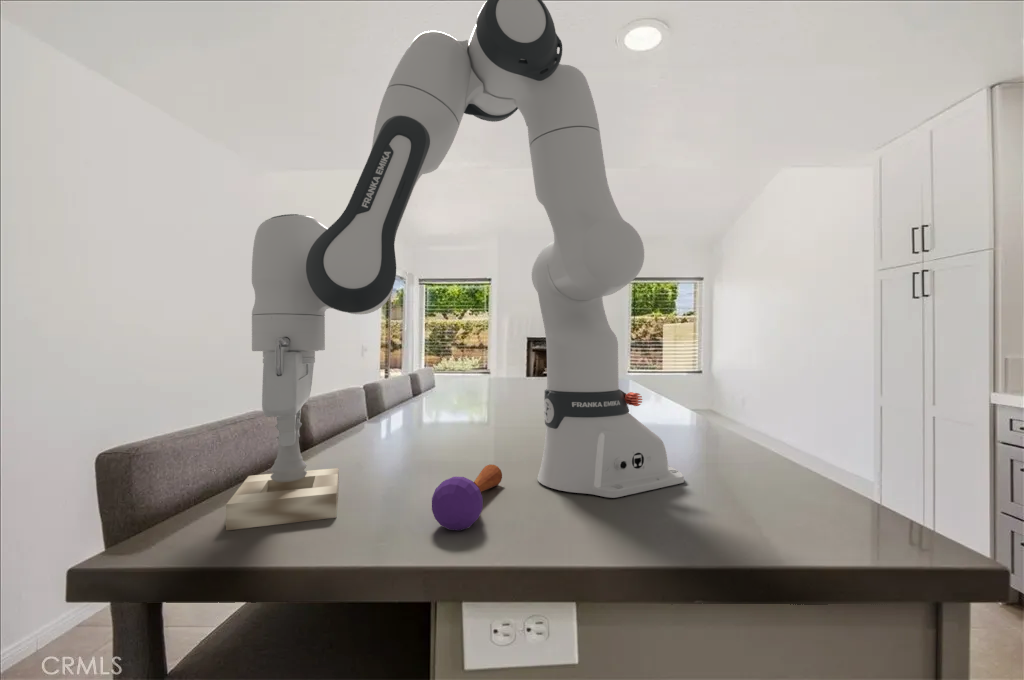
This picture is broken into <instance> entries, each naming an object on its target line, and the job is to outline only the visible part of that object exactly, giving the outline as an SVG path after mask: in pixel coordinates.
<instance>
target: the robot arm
mask: <svg viewBox="0 0 1024 680" xmlns="http://www.w3.org/2000/svg"><path fill="white" fill-rule="evenodd" d="M562 43H563V42H562V40H561V39H560V37H559V36H558V34H557V32H556V28H555V23H554V20H553V17H552V15H551V13H550V11H549V9H548V8H547V6H546V4H545V2H544V1H543V0H486V1H485V2H484V3H483V5H482V7H481V9H480V10H479V12H478V14H477V17H476V23H475V26H474V28H473V30H472V33H471V35H470V38H469V40H468V39H465V40H457V39H456V38H454V37H453V36H451V35H450V34H447V33H445V32H442V31H437V30H430V31H429V30H428V31H424V32H422V33H420V34H418V35H417V36H416V37H415V38H414V39H413V40H412V42H411V43H410V45H408V47H407V49H406V50H405V52H404V54H403V55H402V57H401V58H400V61H399V62H398V64H397V66H396V68H395V70H394V72H393V74H392V76H391V78H390V80H389V83H388V85H387V87H386V90H385V92H384V94H383V97H382V99H381V102H380V106H379V110H378V112H377V117H376V119H375V120H376V121H375V125H374V131H373V136H372V137H373V138H372V145H371V149H370V150H371V151H370V152H369V156H368V157H367V160H366V162H365V165H364V167H363V170H362V172H361V174H360V177H359V179H358V181H357V183H356V186H355V188H354V190H353V192H352V194H351V197H350V199H349V201H348V204H347V205H346V207H345V209H344V210H343V212H342V213H341V215H340V216H339V217H338V218H337V220H336V221H334V222H333V223H332V224H331V225H330V226H328V227H327V226H325V225H324V224H322V223H320V221H319V220H318V219H317V218H316V217H313V216H309V215H307V214H298V213H297V214H294V213H291V214H290V213H289V214H281V215H275V216H273V217H270V218H268V219H265V220H264V221H263V222H262V223H260V224H259V226H258V227H257V229H256V232H255V236H254V241H253V247H252V258H251V259H252V260H251V284H252V287H253V288H252V289H253V290H254V304H253V307H252V310H251V351H252V352H262V364H263V366H262V367H263V368H262V389H261V390H262V392H261V393H262V394H261V410H262V414H263V415H264V417H267V418H273V417H274V418H276V425H277V424H278V429H279V431H278V436H279V439H278V445H279V444H280V445H281V446H292V445H294V443H295V441H296V430H295V425H296V417H299V421H300V422H301V414H302V407H303V406H305V404H306V403H307V402H308V400H309V399H310V395H311V391H312V384H313V375H314V374H313V373H314V366H315V363H316V352H319V351H325V349H326V344H325V343H326V342H325V341H326V340H325V339H326V336H325V334H326V331H325V329H326V326H325V325H326V323H325V322H326V320H325V319H326V318H325V317H326V315H325V314H326V313H325V312H326V311H327V309H333V310H336V311H338V312H342V313H348V314H351V315H367V314H370V313H373V312H375V311H378V310H379V309H380V308H382V307H383V306H385V304H386V303H387V302H388V301H389V299H390V298H391V296H392V293H393V291H394V285H395V282H396V277H397V276H396V275H397V259H396V251H395V243H396V242H395V241H396V236H397V233H398V229H399V227H400V224H401V221H402V218H403V216H404V214H405V211H406V210H407V209H406V208H407V206H408V203H409V201H410V199H411V196H412V195H413V192H414V188H415V186H416V185H417V182H418V181H419V179H420V178H421V177H422V176H423V175H426V174H430V173H432V172H434V171H436V170H437V169H439V167H440V165H441V164H442V162H443V161H444V159H445V158H446V156H447V154H448V152H449V151H450V149H451V147H452V144H453V143H454V140H455V138H456V135H457V133H458V131H459V128H460V125H461V122H462V119H463V116H464V114H465V115H470V116H474V117H475V118H478V119H480V120H483V121H487V122H494V123H495V122H501V121H502V122H503V121H505V120H506V119H508V118H509V117H511V116H512V115H513V114H515V113H516V112H517V110H518V111H519V112H520V113H521V115H522V116H523V120H524V121H525V125H526V127H527V133H528V135H527V136H528V144H529V153H530V162H531V168H532V175H533V183H534V189H535V191H534V192H535V195H536V198H537V201H538V202H539V203H540V204H541V205H542V206H543V208H544V209H545V211H546V214H547V216H548V220H549V222H550V226H551V227H552V231H553V238H554V239H553V241H551V242H549V243H548V244H546V246H544V247H543V248H542V250H541V251H540V253H539V254H538V256H537V257H536V259H535V261H534V263H533V265H532V269H531V282H532V285H533V287H534V289H535V291H536V293H537V295H538V302H539V306H540V312H541V318H542V322H543V327H544V332H545V333H544V334H545V341H546V342H545V343H546V386H547V387H546V389H544V397H543V398H544V400H543V401H544V402H543V416H544V425H545V427H546V428H545V438H544V446H543V452H542V459H541V464H540V468H539V471H538V475H537V481H538V482H539V483H540V484H541V485H543V486H545V487H547V488H551V489H554V490H558V491H563V492H567V493H573V494H574V493H575V494H576V493H577V494H585V495H586V494H588V495H595V496H600V497H604V498H611V499H612V498H613V499H615V498H620V497H624V496H630V495H634V494H639V493H643V492H647V491H652V490H657V489H660V488H666V487H670V486H675V485H678V484H683V483H685V479H684V475H683V473H682V472H681V471H679V470H678V469H676V468H675V467H672V466H669V460H668V454H667V450H666V446H665V444H664V441H663V440H662V439H661V437H660V436H659V435H658V434H656V433H655V432H654V431H652V430H651V429H650V428H648V427H647V426H646V425H644V424H643V422H641V421H640V420H639V419H637V418H636V417H635V416H633V415H632V414H631V413H629V412H630V409H629V406H634V407H639V406H640V405H642V404H641V403H643V401H642V400H643V396H642V395H641V393H639V392H633V391H632V392H631V391H629V392H628V393H626V392H625V391H623V390H621V389H620V388H619V341H618V337H617V336H616V333H615V332H614V330H612V328H611V326H610V324H609V321H608V319H607V315H606V310H605V307H604V306H605V305H604V302H603V297H607V296H611V295H613V294H615V293H617V292H619V291H620V290H622V289H623V288H624V287H625V288H626V286H628V285H629V284H630V283H632V281H634V280H635V279H636V278H637V276H639V274H640V271H641V270H642V268H643V265H644V261H645V247H644V243H643V240H642V237H641V235H640V234H639V233H638V231H637V230H636V228H635V227H634V226H633V225H631V224H630V223H629V222H627V221H625V219H624V218H623V217H622V215H621V214H620V212H619V209H618V207H617V206H616V202H615V201H614V198H613V195H612V192H611V190H610V186H609V184H608V183H609V182H608V178H607V172H606V166H605V159H604V154H603V145H602V139H601V131H600V124H599V120H598V114H597V110H596V104H595V102H594V98H593V95H592V92H591V89H590V86H589V82H588V80H587V78H586V75H585V74H584V73H583V72H582V71H581V70H580V69H579V68H578V67H575V66H573V65H569V64H563V63H562V64H561V59H562V58H563V57H562V56H563V44H562ZM558 48H559V52H558ZM628 405H629V406H628ZM278 429H277V430H278ZM298 432H299V433H300V430H299V431H298Z"/></svg>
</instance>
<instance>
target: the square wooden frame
mask: <svg viewBox="0 0 1024 680" xmlns="http://www.w3.org/2000/svg"><path fill="white" fill-rule="evenodd" d="M339 470H340V469H339V467H335V468H322V469H312V470H305V471H306V472H307V474H306V475H305V477H304V478H302V479H300V480H297V481H292V482H275V481H273V480H272V479H271V477H270V476H271V475H272V474H273V473H264V474H255V475H248V476H247V477H246V478H245V480H244V481H243V483H242V484H241V485H240V486H239V487H238V488H237V490H236V491H235V493H234V494H233V495H232V497H230V499H229V500H228V501H227V503H225V514H226V515H225V531H233V530H243V529H250V528H257V527H259V528H260V527H267V526H276V525H282V524H283V525H285V524H293V523H300V522H308V521H317V520H319V521H320V520H324V519H334V518H337V516H338V515H337V514H338V503H339V491H340V490H339V488H340V487H339V486H340V484H339V483H340V482H339V479H340V478H339V475H340V471H339Z"/></svg>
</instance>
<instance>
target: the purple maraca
mask: <svg viewBox="0 0 1024 680" xmlns="http://www.w3.org/2000/svg"><path fill="white" fill-rule="evenodd" d="M502 480H503V473H502V470H501V469H500V467H499V466H497V465H496V464H488V465H485V466H484V467H483V468H482V469H481V471H480V473H478V475H477V477H476V478H475V480H471V479H469V478H467V477H466V476H465V477H464V476H452V477H449V478H447V479H445V480H443V481H442V482H441V483H440V484H439V485H438V486H437V487H436V488H435V489H434V492H433V494H432V497H431V511H432V514H433V517H434V519H435V520H436V522H437V523H438V524H439V525H440V526H441V527H444V528H446V529H448V530H450V531H464V530H465V529H468V528H470V527H471V526H472V525H474V523H475V522H476V521H478V519H479V518H480V516H481V513H482V512H483V505H484V504H483V503H484V502H483V501H484V499H483V495H482V492H483V491H486V490H489V489H492V488H494V487H497V486H498V485H500V483H501V482H502Z"/></svg>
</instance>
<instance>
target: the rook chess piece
mask: <svg viewBox="0 0 1024 680" xmlns="http://www.w3.org/2000/svg"><path fill="white" fill-rule="evenodd" d="M302 425H303V423H302V421H301V420H300V421H299V417H296V425H295V430H296V441H295V443H294V445H292V446H281V445H280V444H279V443H278V446H277V447H278V449H277V456H276V459H274V464H272V466H271V467H270V468H271V469H270V472H272V473H271V474H272V475H271V476H270V477H271V479H272V480H273V481H275V482H292V481H297V480H300V479H302V478H304V477H305V475H306V474H307V472H306V471H307V470H305V469H307V468H306V467H307V466H308V465H307V463H306V461H304V460H303V459H304V457H303V456H302V453H301V449H300V448H301V447H300V443H299V441H300V437H301V435H300V428H301V427H302ZM275 429H276V430H277V431H278V432H279V429H278V424H277V423H276V424H275ZM298 431H299V432H298ZM276 438H277V440H279V435H278V436H277V437H276Z"/></svg>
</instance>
